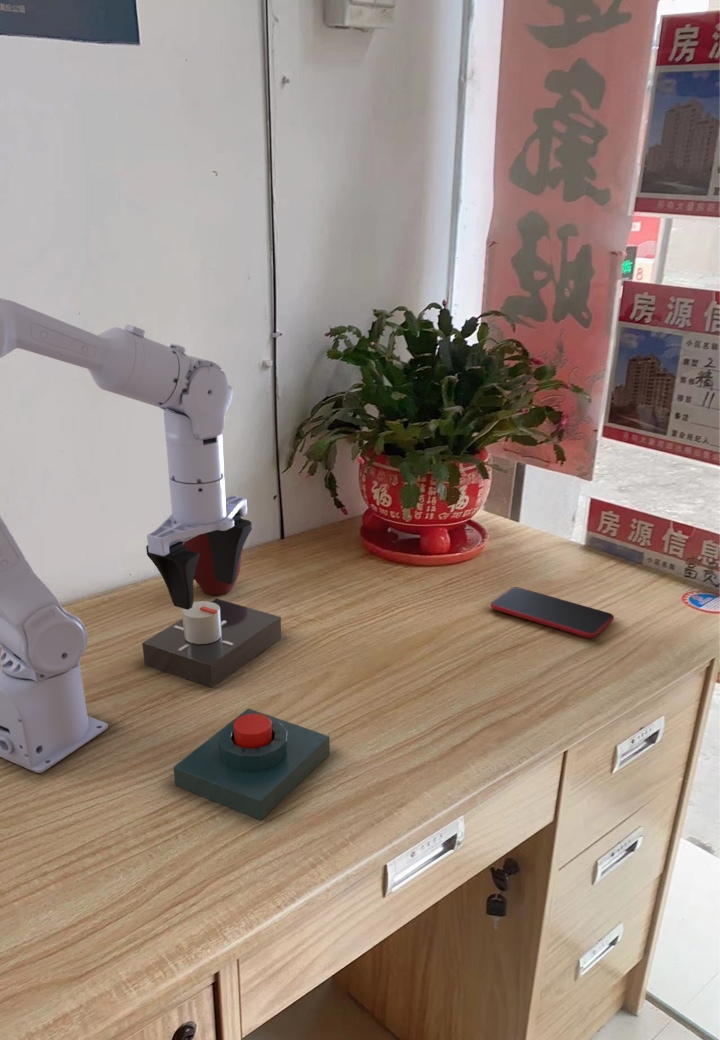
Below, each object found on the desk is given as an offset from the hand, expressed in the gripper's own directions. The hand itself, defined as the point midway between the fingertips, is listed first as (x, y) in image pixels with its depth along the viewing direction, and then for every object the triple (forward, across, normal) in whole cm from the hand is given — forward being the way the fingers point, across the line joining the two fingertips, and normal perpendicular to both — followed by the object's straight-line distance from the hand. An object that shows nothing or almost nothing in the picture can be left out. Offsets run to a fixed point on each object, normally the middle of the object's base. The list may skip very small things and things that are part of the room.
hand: (204, 593), depth 98 cm
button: (+6, -13, -15) cm, 21 cm away
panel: (+10, +4, +2) cm, 11 cm away
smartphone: (+10, +35, -30) cm, 47 cm away
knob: (+7, +2, +2) cm, 8 cm away
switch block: (+10, -13, -15) cm, 22 cm away
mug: (+10, +17, +13) cm, 24 cm away
